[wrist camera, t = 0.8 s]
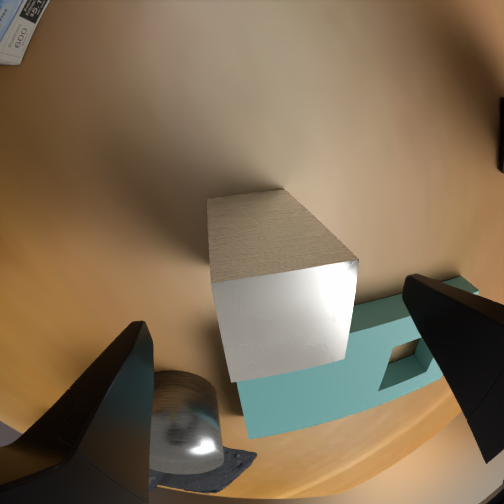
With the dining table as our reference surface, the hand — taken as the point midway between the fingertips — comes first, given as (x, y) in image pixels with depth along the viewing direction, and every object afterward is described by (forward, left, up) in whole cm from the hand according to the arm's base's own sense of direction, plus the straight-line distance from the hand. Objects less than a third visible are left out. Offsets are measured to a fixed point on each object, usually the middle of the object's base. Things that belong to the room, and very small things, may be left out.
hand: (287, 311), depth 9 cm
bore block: (-8, +12, -7) cm, 16 cm away
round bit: (+7, +13, -7) cm, 17 cm away
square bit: (0, 0, -7) cm, 7 cm away
